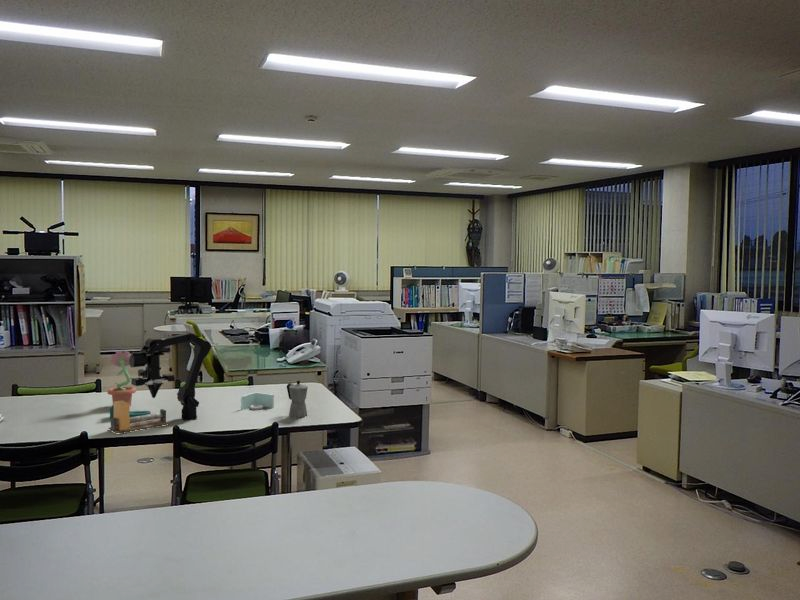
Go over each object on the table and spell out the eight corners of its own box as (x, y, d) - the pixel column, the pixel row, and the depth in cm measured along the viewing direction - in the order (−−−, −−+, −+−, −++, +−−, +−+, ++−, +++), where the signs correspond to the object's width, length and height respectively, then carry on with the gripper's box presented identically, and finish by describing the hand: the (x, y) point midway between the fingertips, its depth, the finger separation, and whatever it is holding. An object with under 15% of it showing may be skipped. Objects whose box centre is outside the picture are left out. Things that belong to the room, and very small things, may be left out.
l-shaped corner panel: (241, 410, 328) (241, 396, 328) (255, 405, 339) (255, 392, 339) (259, 413, 323) (259, 399, 323) (273, 408, 334) (273, 394, 334)
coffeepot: (313, 416, 318) (314, 381, 317) (299, 419, 311) (299, 384, 309) (294, 410, 328) (294, 376, 327) (279, 414, 321) (280, 379, 320)
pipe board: (159, 420, 304) (159, 407, 304) (169, 425, 297) (169, 411, 297) (108, 430, 287) (108, 416, 287) (116, 434, 280) (116, 420, 280)
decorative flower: (139, 402, 338) (139, 347, 336) (137, 409, 325) (136, 351, 323) (109, 404, 334) (108, 348, 331) (105, 410, 321) (105, 352, 318)
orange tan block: (122, 425, 291) (122, 400, 290) (129, 428, 285) (129, 403, 284) (113, 426, 288) (113, 401, 287) (120, 430, 282) (120, 405, 281)
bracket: (110, 420, 304) (109, 404, 303) (112, 416, 310) (111, 401, 310) (149, 418, 309) (149, 402, 309) (151, 414, 316) (150, 399, 315)
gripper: (165, 360, 307) (165, 392, 308) (126, 364, 294) (126, 397, 295) (175, 363, 299) (175, 396, 300) (136, 368, 286) (136, 402, 287)
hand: (153, 397), depth 296 cm, fingers closed
